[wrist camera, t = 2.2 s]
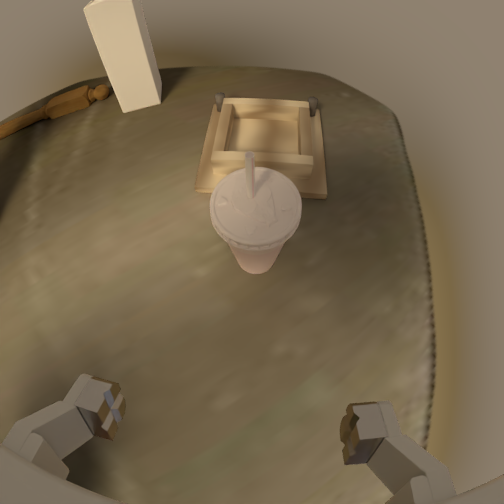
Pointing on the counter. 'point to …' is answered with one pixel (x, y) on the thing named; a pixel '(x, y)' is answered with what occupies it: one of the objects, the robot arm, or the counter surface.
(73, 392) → the robot arm
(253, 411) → the counter surface
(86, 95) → the tap handle
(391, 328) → the counter surface
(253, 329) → the counter surface
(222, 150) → the holder
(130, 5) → the milk
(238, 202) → the smoothie
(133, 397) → the counter surface
